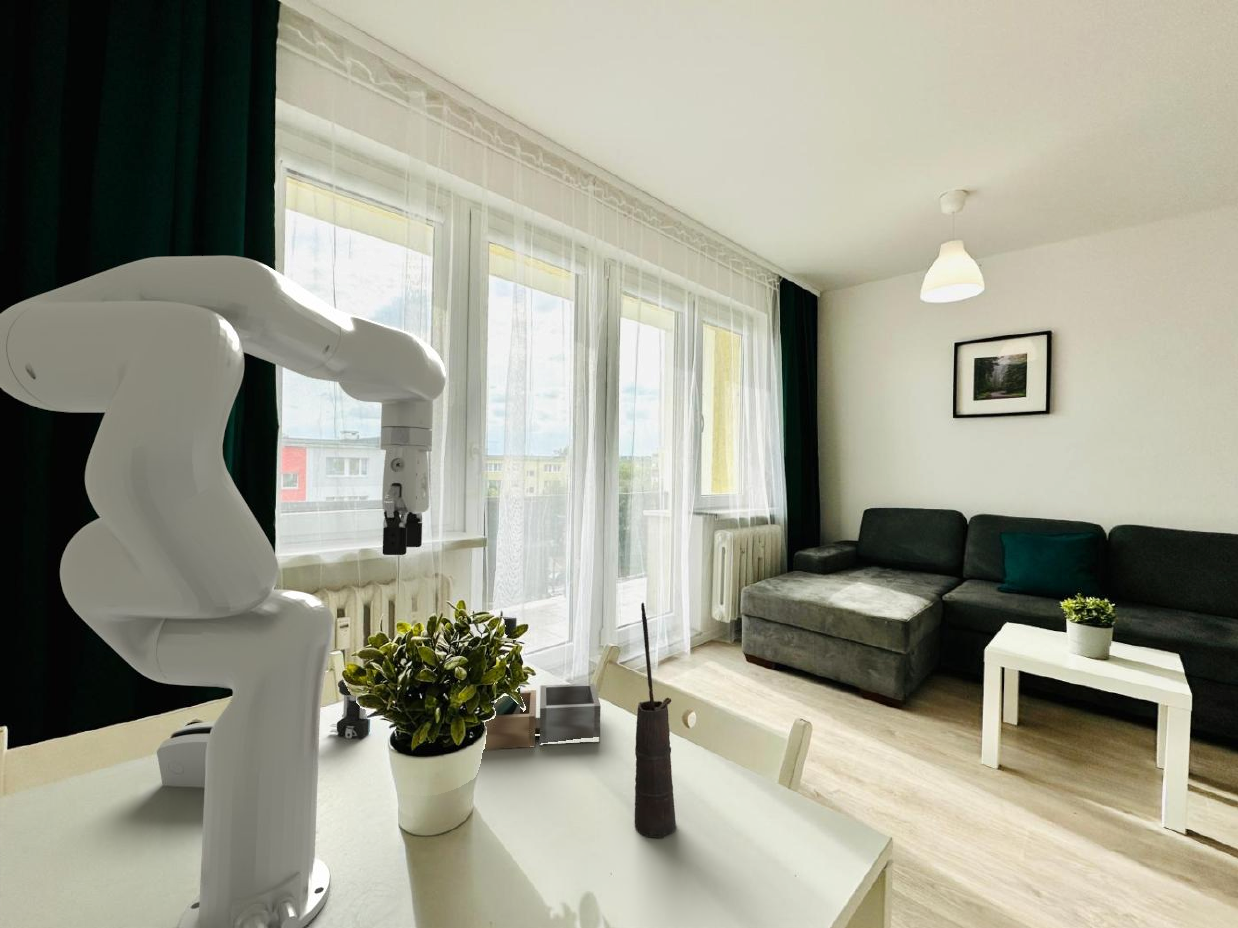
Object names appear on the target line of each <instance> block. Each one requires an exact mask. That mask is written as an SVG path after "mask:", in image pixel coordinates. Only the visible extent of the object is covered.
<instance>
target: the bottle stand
mask: <svg viewBox="0 0 1238 928" xmlns="http://www.w3.org/2000/svg"><path fill="white" fill-rule="evenodd" d="M539 692H540V693H539V695H540V696H539V717H537V689H536V690H535V689H531V690H520V696H521V697H522V699H523V702H524V704H525V706H526V710H525V711H524V712H523V710H522V709H521V708H520V714H514V715H496V716H495V718H494V719H491V720H489V721H486V722H485V726H486V727H487V735H486V744H485V750H484V751H489V750H490V749H495V750H500V749H499V748H513V749H517V748H516V747H530V746H535V747H536V737H535V734H540V737H539V742H540V743H539V744H541V743H548V742H558V741H566V740H573V739H581V738H593V737H600V738H601V702H600V699H599V698H600V697H599V696H598V695H599V694H598V691H597V687H596V683H595V682H594V683H573V684H572V683H571V684H570V683H569V684H567V683H566V684H545V685H540V691H539ZM490 751H491V750H490Z"/></svg>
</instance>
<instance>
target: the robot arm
mask: <svg viewBox="0 0 1238 928" xmlns="http://www.w3.org/2000/svg"><path fill="white" fill-rule="evenodd" d="M245 354H249V355H251V356H253V357H255V358H258V359H261V360H264V361H267V362H269V363H272V364H274V365H277V366H280V367H282V368H284V369H286V370H289V371H291V372H294V373H297V374H299V375H302V376H304V377H306V378H311V379H316V380H320V381H321V380H322V381H327V382H328V381H329V382H335V383H338V384H339V386H340V388H341V390H342V391H343V392H345V394H347V396H349V397H351V398H352V399H354V400H357V401H360V402H363V403H365V402H366V403H379V404H380V403H381V411H380V412H381V416H380V418H381V419H380V421H381V422H380V447H379V448H380V450H383V451H385V455H384V456H385V457H384V465H383V466H384V467H383V475H382V476H383V477H382V493H381V494H382V500H381V501H382V510H383V516H384V518H383V524H382V525H383V527H382V528H383V529H382V530H383V531H382V554H383V556H405V555H406V554H407V548H420V547H422V544H423V543H422V542H423V541H422V540H423V522H422V521H423V514H422V513H425V512H426V511H428V510H429V507H430V506H429V505H430V504H429V503H430V501H429V500H430V498H429V497H430V496H429V495H430V494H429V493H430V492H429V489H430V487H429V486H430V485H429V484H430V483H429V481H430V480H429V460H428V452H432V451H433V422H434V418H433V415H434V414H433V413H434V401H435V400H436V399H437V398H438V397H440V396H441V394H442V393H443V391H444V388H445V386H446V377H447V375H446V369H445V365H444V363H443V361H442V360H441V358H440V356H439V354H438V353H437V352H436V351H435V349H433V348H432V347H431V346H430V345H429V344H427V343H426V342H425V341H423V340H422V339H421V338H419V337H417V336H416V335H414V334H412V333H409V332H407V331H404V330H402V329H398V328H395V327H392V326H388V325H385V324H381V323H379V322H375V321H373V320H369V319H366V318H363V317H359V316H357V315H353V314H349V313H345V312H342V311H339V310H338V309H336V308H334V307H332V306H331V305H329V304H327V303H326V302H325V301H323V300H321V298H319V297H317V296H316V295H313V294H312V293H311V292H309V291H307V290H306V289H304V288H303V287H301V286H300V285H298V284H297V283H295V282H294V281H292V280H290V279H289V278H287V277H285V276H284V275H283V274H281V273H279V272H278V271H276V270H274V269H273V268H271V267H269V266H268V265H266V264H264V263H262V262H259V261H257V260H254V259H251V258H247V257H242V256H236V255H203V256H202V255H192V256H191V255H190V256H189V255H188V256H180V255H178V256H154V257H147V258H142V259H139V260H135V261H132V262H128V263H125V264H121V265H119V266H116V267H113V268H110V269H107V270H105V271H102V272H99V273H96V274H94V275H91V276H89V277H86V278H83V279H80V280H78V281H76V282H72V283H69V284H66V285H64V286H63V285H62V287H61V286H60V287H58V288H56V289H52V290H50V291H47V292H46V291H45V292H44V293H40V294H38V295H35V296H32V297H29V298H27V299H25V300H23V301H20V302H18V303H15V304H14V305H11V306H10V307H8V308H6V309H5V310H3V311H2V312H1V313H0V388H1V389H2V391H3V392H5V393H7V394H8V395H10V396H11V397H13V398H14V399H17V400H18V401H20V402H23V403H25V404H28V405H29V406H32V407H37V408H38V409H43V410H48V411H53V412H54V411H55V412H64V413H104V414H103V417H102V420H101V422H100V424H99V425H100V426H99V428H98V431H97V433H96V435H95V438H94V442H93V444H92V447H91V449H90V453H89V455H88V458H87V462H86V465H85V471H84V484H85V490H86V494H87V496H88V499H89V502H90V503H91V505H92V508H93V509H94V511H95V512H96V514H97V515H98V517H99V518H96V519H95V520H93V521H90V522H89V523H88V524H86V525H85V526H83V527H82V528H80V530H78V532H76V533H75V534H74V535H73V537H72V538H71V539H70V540H69V542H68V543H67V545H66V547H65V550H64V551H63V553H62V557H61V560H60V568H59V578H60V583H61V587H62V588H61V589H62V592H63V594H64V597H65V599H66V601H67V603H68V605H69V606H70V607H71V608H72V609H73V611H74V612H75V613H76V614H77V615H78V616H79V618H81V619H82V621H84V622H85V623H86V625H88V626H89V628H90V629H92V630H93V632H95V633H96V634H97V635H98V636H99V637H100V638H101V639H102V640H103V641H104V642H105V643H106V644H107V645H108V646H110V648H111V649H113V650H114V652H116V653H117V654H118V655H119V656H120V657H121V658H122V659H123V660H124V661H125V662H126V663H128V665H130V666H131V667H132V668H133V669H134V670H136V671H137V672H138V673H140V675H142V676H144V677H146V678H147V679H150V680H151V681H155V682H157V683H162V684H166V685H167V684H168V685H177V686H178V685H179V686H195V687H217V688H224V689H230V690H232V697H231V699H230V701H229V703H228V704H227V705H226V707H225V708H224V710H223V711H222V713H221V714H220V715H219V717H218V718H217V719H216V720H215V721H216V722H215V724H214V725H213V727H212V729H211V732H210V734H209V737H208V741H207V747H206V760H205V766H206V770H205V788H204V793H203V795H204V797H203V816H202V817H203V818H202V839H201V862H200V863H201V864H200V867H201V868H200V885H199V887H200V888H199V895H198V896H196V897H195V898H194V899H193V901H192V902H191V903H190V904H189V905H188V906H187V907H186V909H185V910H184V912H183V914H182V915H181V916H180V917H181V918H180V919H179V922H178V924H177V925H178V926H177V928H305V927H306V925H308V924H309V923H310V922H311V921H312V919H314V918H315V917H316V916H317V915H318V913H319V912H320V911H321V909H322V908H323V907H324V906H325V903H326V902H327V900H328V898H329V894H330V890H331V879H332V877H331V876H332V875H331V872H330V871H331V870H330V868H329V866H327V864H326V863H325V862H324V861H323V860H321V859H319V858H318V857H316V834H317V832H316V831H317V830H316V829H317V812H318V811H317V807H318V802H317V801H318V780H319V778H318V777H319V751H320V723H321V722H320V721H321V706H322V694H323V687H324V683H325V682H324V681H325V675H326V671H327V666H328V663H329V658H330V653H331V650H332V647H333V641H334V634H335V622H334V621H335V620H334V619H335V618H334V616H333V613H332V611H331V609H330V608H329V606H328V605H327V604H326V603H325V602H324V601H323V600H322V599H320V598H319V597H317V596H315V595H313V594H311V593H309V592H303V591H300V590H299V591H298V590H293V589H276V588H275V587H276V585H277V582H278V578H279V563H278V560H277V559H278V558H277V556H276V553H275V551H274V549H273V546H272V544H271V543H270V541H269V539H268V537H267V536H266V534H265V532H264V530H263V529H262V527H261V525H260V523H259V522H258V520H257V518H256V517H255V515H254V514H253V512H252V511H251V509H250V507H249V506H248V504H247V503H246V501H245V499H244V497H243V496H242V494H241V493H240V491H239V489H238V488H237V486H236V484H235V483H234V480H233V478H232V476H231V475H230V473H229V471H228V469H227V466H226V462H225V459H224V455H223V454H224V453H223V451H224V450H223V443H224V437H225V430H226V428H227V424H228V421H229V417H230V414H231V411H232V408H233V405H234V403H235V400H236V398H237V396H238V393H239V390H240V388H241V385H242V382H243V378H244V372H245V356H244V355H245Z"/></svg>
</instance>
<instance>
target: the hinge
mask: <svg viewBox="0 0 1238 928" xmlns="http://www.w3.org/2000/svg"><path fill="white" fill-rule="evenodd" d="M216 721H217V720H215V721H212V720H211V721H204V722H196V723H192V724H189V725H188V724H187V725H184V726H181V727H180V728H178V729H176V730H175V731H173V733H171V734H170V738H168V739H165V740H163V742H162V743H161V744H160V746H159V747H158V749H157V750H156V755H157V760H158V766H159V771H160V776H161V783H162V786H164V787H183V788H184V787H185V788H204V789H205V770H206V766H205V760H206V747H207V741H208V737H209V734H210V732H211V729H212V727H213V725H214V724H215V722H216Z"/></svg>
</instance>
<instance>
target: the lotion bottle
mask: <svg viewBox="0 0 1238 928" xmlns="http://www.w3.org/2000/svg"><path fill="white" fill-rule="evenodd" d="M499 617H502V618H503V619H504V620H505V625H506V627H505V634H506V635H508V634H509V633H510V632H511V631H512V630H513V629H514V628H516V629H517V626H518V625H517V622H518V620H517V617H510V616H509V617H508V616H503V615H502V616H500V615H499V616H495V617H494V618H499ZM515 642H518V641H517V639H516V640H513V643H515ZM517 691H518V693H519V694H520V691H521V687H520V688H518V689H517ZM494 708H495V711H496V715H514V714H520V705H519V704H517V703H516V702H515V701H514V700H513V699H512V698H511V697H510V696H503V697H502V698H500V699H498V700H497V702H496V703H495V704H494Z"/></svg>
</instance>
